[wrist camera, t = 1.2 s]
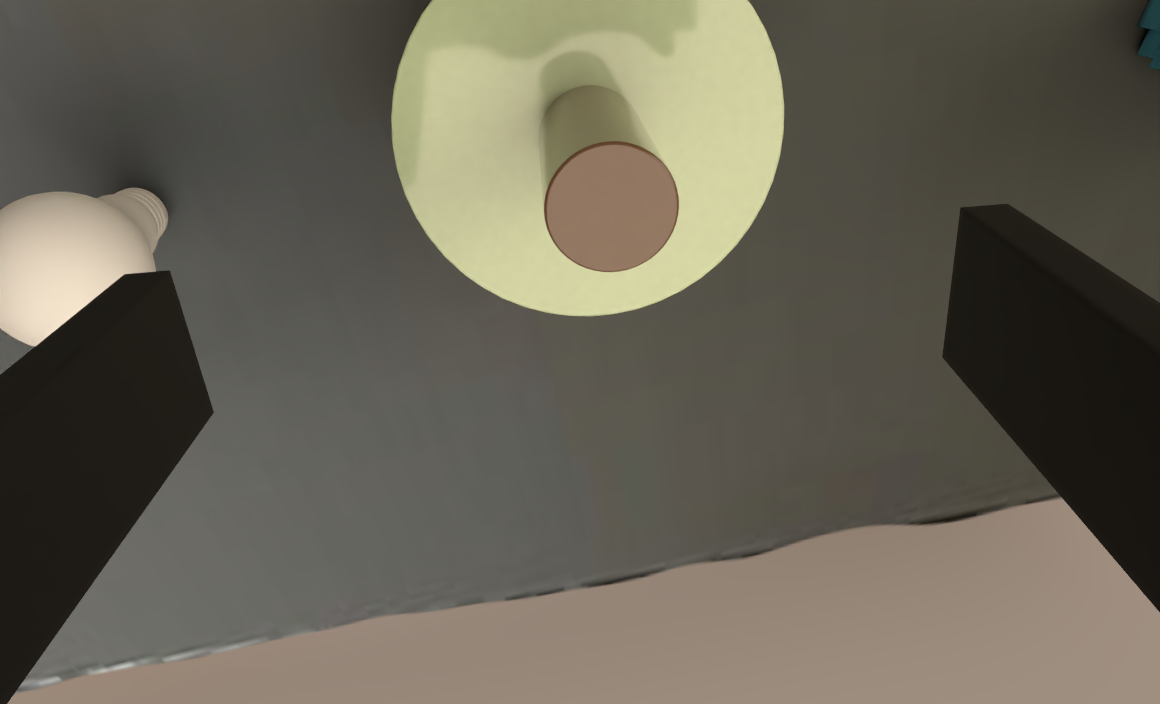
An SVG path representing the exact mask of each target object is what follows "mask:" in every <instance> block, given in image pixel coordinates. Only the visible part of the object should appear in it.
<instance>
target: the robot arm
mask: <svg viewBox="0 0 1160 704" xmlns="http://www.w3.org/2000/svg"><path fill="white" fill-rule="evenodd" d="M942 357H943V359H944V360H945V361H946V362H947V363H948V364H949V366H950V367H951V368H952V369H953V370H954V371H955V373H956V374H957V375H958V376H959V377H960V378H961V380H962V381H963V382H964V383H965V384H966V386H967V387H968V388H969V389H970V390H971V391H972V393H973V394H974V395H975V396H976V397H977V398H978V400H979V401H980V402H981V403H982V404H983V405H984V407H985V408H986V409H987V410H988V411H989V412H990V414H991V415H992V416H993V417H994V418H995V420H996V421H997V422H998V423H999V424H1000V425H1001V427H1002V428H1003V429H1004V430H1005V431H1006V432H1007V434H1008V435H1009V436H1010V437H1011V438H1012V439H1013V441H1014V442H1015V443H1016V444H1017V445H1018V447H1019V448H1020V449H1021V450H1022V451H1023V452H1024V454H1025V455H1026V456H1027V457H1028V458H1029V459H1030V461H1031V462H1032V463H1033V464H1034V465H1035V466H1036V468H1037V469H1038V470H1039V471H1040V472H1041V473H1042V475H1043V476H1044V477H1045V478H1046V479H1047V481H1048V482H1049V483H1050V484H1051V485H1052V486H1053V488H1054V489H1055V490H1056V491H1057V492H1058V493H1059V495H1060V496H1061V497H1062V498H1063V499H1064V500H1065V501H1066V503H1067V504H1068V505H1069V506H1070V507H1071V509H1072V510H1073V511H1074V512H1075V513H1076V515H1077V516H1078V517H1079V518H1080V519H1081V520H1082V522H1083V523H1084V524H1085V525H1086V526H1087V527H1088V529H1089V530H1090V531H1091V532H1092V533H1093V534H1094V536H1095V537H1096V538H1097V539H1098V540H1099V541H1100V543H1101V544H1102V545H1103V546H1104V547H1105V549H1106V550H1107V551H1108V552H1109V553H1110V554H1111V555H1112V557H1113V558H1114V559H1115V560H1116V561H1117V562H1118V564H1119V565H1120V566H1121V567H1122V568H1123V570H1124V571H1125V572H1126V573H1127V574H1128V576H1129V577H1130V578H1131V579H1132V580H1133V581H1134V583H1135V584H1136V585H1137V586H1138V587H1139V588H1140V590H1141V591H1142V592H1143V593H1144V594H1145V595H1146V597H1147V598H1148V599H1149V600H1150V601H1151V602H1152V604H1153V605H1154V606H1155V607H1156V608H1157V609H1158V611H1159V612H1160V303H1159V302H1157V301H1156V300H1154V299H1153V298H1151V297H1150V296H1148V295H1147V294H1145V293H1144V292H1142V291H1141V290H1139V289H1138V288H1136V287H1134V286H1133V285H1131V284H1130V283H1128V282H1127V281H1125V280H1124V279H1122V278H1121V277H1119V276H1118V275H1116V274H1115V273H1113V272H1111V271H1110V270H1108V269H1107V268H1105V267H1104V266H1102V265H1101V264H1099V263H1098V262H1096V261H1095V260H1093V259H1091V258H1090V257H1088V256H1087V255H1085V254H1084V253H1082V252H1081V251H1079V250H1078V249H1076V248H1075V247H1073V246H1072V245H1070V244H1068V243H1067V242H1065V241H1064V240H1062V239H1061V238H1059V237H1058V236H1056V235H1055V234H1053V233H1052V232H1050V231H1049V230H1047V229H1045V228H1044V227H1042V226H1041V225H1039V224H1038V223H1036V222H1035V221H1033V220H1032V219H1030V218H1029V217H1027V216H1026V215H1024V214H1022V213H1021V212H1019V211H1018V210H1016V209H1015V208H1013V207H1012V206H1010V205H1009V204H1000V205H988V206H975V207H963V208H961V209H960V217H959V225H958V233H957V241H956V250H955V258H954V266H953V274H952V282H951V291H950V299H949V307H948V315H947V323H946V332H945V340H944V348H943V356H942ZM213 413H214V412H213V408H212V405H211V402H210V399H209V395H208V392H207V389H206V386H205V383H204V379H203V376H202V373H201V370H200V366H199V363H198V360H197V357H196V354H195V350H194V347H193V344H192V341H191V337H190V334H189V331H188V328H187V325H186V321H185V318H184V315H183V312H182V308H181V305H180V302H179V299H178V296H177V292H176V289H175V286H174V283H173V279H172V276H171V273H170V271H158V272H145V273H133V274H124V275H123V276H122V277H120V278H119V279H118V280H117V281H116V282H114V283H113V284H112V285H111V286H109V287H108V288H107V289H106V290H104V291H103V292H102V293H101V294H99V295H98V296H97V297H96V298H95V299H93V300H92V301H91V302H90V303H88V304H87V305H86V306H85V307H83V308H82V309H81V310H80V311H79V312H77V313H76V314H75V315H74V316H72V317H71V318H70V319H69V320H67V321H66V322H65V323H64V324H63V325H61V326H60V327H59V328H58V329H56V330H55V331H54V332H53V333H51V334H50V335H49V336H48V337H46V338H45V339H44V340H43V341H42V342H40V343H39V344H38V345H37V346H35V347H34V348H33V349H32V350H30V351H29V352H28V353H27V354H26V355H24V356H23V357H22V358H21V359H19V360H18V361H17V362H16V363H14V364H13V365H12V366H11V367H9V368H8V369H7V370H6V371H5V372H3V373H2V374H1V375H0V704H7V703H8V702H9V700H10V699H11V697H12V696H13V695H14V693H15V692H16V690H17V689H18V688H19V686H20V685H21V683H22V682H23V681H24V679H25V678H26V676H27V675H28V673H29V672H30V671H31V669H32V668H33V666H34V665H35V664H36V662H37V661H38V659H39V658H40V657H41V655H42V654H43V652H44V651H45V650H46V648H47V647H48V645H49V644H50V642H51V641H52V640H53V638H54V637H55V635H56V634H57V633H58V631H59V630H60V628H61V627H62V626H63V624H64V623H65V621H66V620H67V619H68V617H69V616H70V614H71V613H72V611H73V610H74V609H75V607H76V606H77V604H78V603H79V602H80V600H81V599H82V597H83V596H84V595H85V593H86V592H87V590H88V589H89V588H90V586H91V585H92V583H93V582H94V580H95V579H96V578H97V576H98V575H99V573H100V572H101V571H102V569H103V568H104V566H105V565H106V564H107V562H108V561H109V559H110V558H111V557H112V555H113V554H114V552H115V551H116V549H117V548H118V547H119V545H120V544H121V542H122V541H123V540H124V538H125V537H126V535H127V534H128V533H129V531H130V530H131V528H132V527H133V526H134V524H135V523H136V521H137V520H138V518H139V517H140V516H141V514H142V513H143V511H144V510H145V509H146V507H147V506H148V504H149V503H150V502H151V500H152V499H153V497H154V496H155V495H156V493H157V492H158V490H159V489H160V487H161V486H162V485H163V483H164V482H165V480H166V479H167V478H168V476H169V475H170V473H171V472H172V471H173V469H174V468H175V466H176V465H177V464H178V462H179V461H180V459H181V458H182V456H183V455H184V454H185V452H186V451H187V449H188V448H189V447H190V445H191V444H192V442H193V441H194V440H195V438H196V437H197V435H198V434H199V433H200V431H201V430H202V428H203V427H204V425H205V424H206V423H207V421H208V420H209V418H210V417H211V416H212V414H213Z"/></svg>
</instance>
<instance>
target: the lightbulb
mask: <svg viewBox="0 0 1160 704" xmlns="http://www.w3.org/2000/svg"><path fill="white" fill-rule="evenodd" d="M167 224H168V214H167V210H166V208H165V206H164V204H163V203H162V201H161V200H160V199H159V198H158V197H157V196H156V195H154V194H153V193H151V192H149V191H147V190H145V189H141V188H127V189H124V190H121V191H119V192H117V193H115V194H113V195H105V196H101V197H98V198H93V197H90V196H87V195H83V194H78V193H73V192H47V193H41V194H35V195H29V196H26V197H24V198H21V199H19V200H16V201H14V202H12V203H10V204H9V205H7V206H5V207H4V208H3V209H1V210H0V328H1V329H2V330H3V331H5V332H6V333H8V334H9V335H11V336H12V337H13V338H15V339H17V340H19V341H21V342H23V343H25V344H28V345H31V346H34V347H35V346H37V345H38V344H39V343H40V342H42V341H43V340H44V339H45V338H46V337H48V336H49V335H50V334H51V333H53V332H54V331H55V330H56V329H58V328H59V327H60V326H61V325H63V324H64V323H65V322H66V321H67V320H69V319H70V318H71V317H72V316H74V315H75V314H76V313H77V312H79V311H80V310H81V309H82V308H83V307H85V306H86V305H87V304H88V303H90V302H91V301H92V300H93V299H95V298H96V297H97V296H98V295H99V294H101V293H102V292H103V291H104V290H106V289H107V288H108V287H109V286H111V285H112V284H113V283H114V282H116V281H117V280H118V279H119V278H120V277H122V276H123V275H124V274H133V273H145V272H156V268H155V263H154V258H153V254H152V253H153V252H154V250H155V248H156V246H157V242H158V239H159V238H160V237H161V235H162V234H163V232H164V231H165V229H166V227H167Z"/></svg>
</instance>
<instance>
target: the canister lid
mask: <svg viewBox="0 0 1160 704" xmlns="http://www.w3.org/2000/svg"><path fill="white" fill-rule="evenodd" d="M391 129H392V146H393V151H394V157H395V162H396V167H397V172H398V175H399V178H400V181H401V184H402V187H403V190H404V193H405V196H406V198H407V200H408V202H409V204H410V206H411V208H412V211H413V213H414V215H415V217H416V218H417V220H418V222H419V223H420V225H421V226H422V228H423V229H424V231H425V233H426V234H427V236H428V237H429V239H430V240H431V241H432V242H433V243H434V245H435V246H436V247H437V248H438V249H439V251H440V252H441V253H442V254H443V255H444V256H445V257H446V258H447V259H448V260H449V261H450V262H451V263H452V264H453V265H454V266H455V267H456V268H457V269H458V270H460V271H461V272H462V273H463V274H464V275H466V276H467V277H469V278H470V279H471V280H473V281H474V282H475V283H477V284H478V285H480V286H481V287H483V288H485V289H486V290H488V291H490V292H492V293H494V294H496V295H497V296H499V297H501V298H503V299H506V300H508V301H511V302H513V303H516V304H518V305H521V306H523V307H527V308H531V309H534V310H538V311H542V312H546V313H553V314H560V315H567V316H599V315H609V314H617V313H622V312H626V311H630V310H635V309H639V308H642V307H645V306H647V305H650V304H653V303H656V302H659V301H661V300H663V299H665V298H667V297H669V296H671V295H674V294H676V293H678V292H680V291H682V290H683V289H685V288H686V287H688V286H689V285H691V284H692V283H694V282H696V281H697V280H699V279H700V278H702V277H703V276H704V275H705V274H706V273H708V272H709V271H710V270H711V269H712V268H714V267H715V266H716V265H717V264H719V263H720V262H721V261H722V260H723V259H724V257H725V256H726V255H727V254H728V253H729V252H730V251H731V250H732V249H733V248H734V247H735V246H736V245H737V243H738V242H739V241H740V239H741V238H742V237H743V235H744V234H745V233H746V231H747V230H748V229H749V227H750V226H751V224H752V223H753V221H754V219H755V218H756V216H757V214H758V212H759V211H760V209H761V207H762V205H763V203H764V201H765V199H766V196H767V194H768V192H769V189H770V187H771V184H772V182H773V179H774V176H775V172H776V169H777V165H778V161H779V158H780V152H781V146H782V139H783V133H784V98H783V89H782V80H781V76H780V71H779V67H778V63H777V59H776V55H775V52H774V50H773V47H772V44H771V42H770V39H769V37H768V34H767V32H766V29H765V27H764V26H763V24H762V22H761V20H760V18H759V17H758V15H757V13H756V11H755V9H754V8H753V6H752V5H751V3H750V2H749V1H748V0H431V2H430V3H429V5H428V6H427V7H426V9H425V10H424V12H423V13H422V14H421V16H420V18H419V20H418V22H417V24H416V26H415V27H414V29H413V31H412V33H411V35H410V37H409V39H408V41H407V44H406V47H405V50H404V52H403V55H402V58H401V61H400V63H399V67H398V72H397V76H396V81H395V85H394V90H393V99H392V112H391Z"/></svg>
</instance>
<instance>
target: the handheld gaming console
mask: <svg viewBox="0 0 1160 704" xmlns="http://www.w3.org/2000/svg"><path fill="white" fill-rule="evenodd" d="M1137 26H1138V27H1142V28H1146V29H1149V31H1148V33H1147V35H1146V37H1145V39H1144V41H1143V43H1142V46H1141V48H1140V50H1139V52H1138V54H1137V55H1141V56H1145V57H1149V58H1153V60H1152V62H1151V64H1150V66H1149V67H1151V68H1155V69H1158V70H1160V0H1149V2H1148V4H1147V6H1146V8H1145V10H1144V12H1143V14H1142V17H1141V19H1140V21H1139V23H1138V25H1137Z"/></svg>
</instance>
